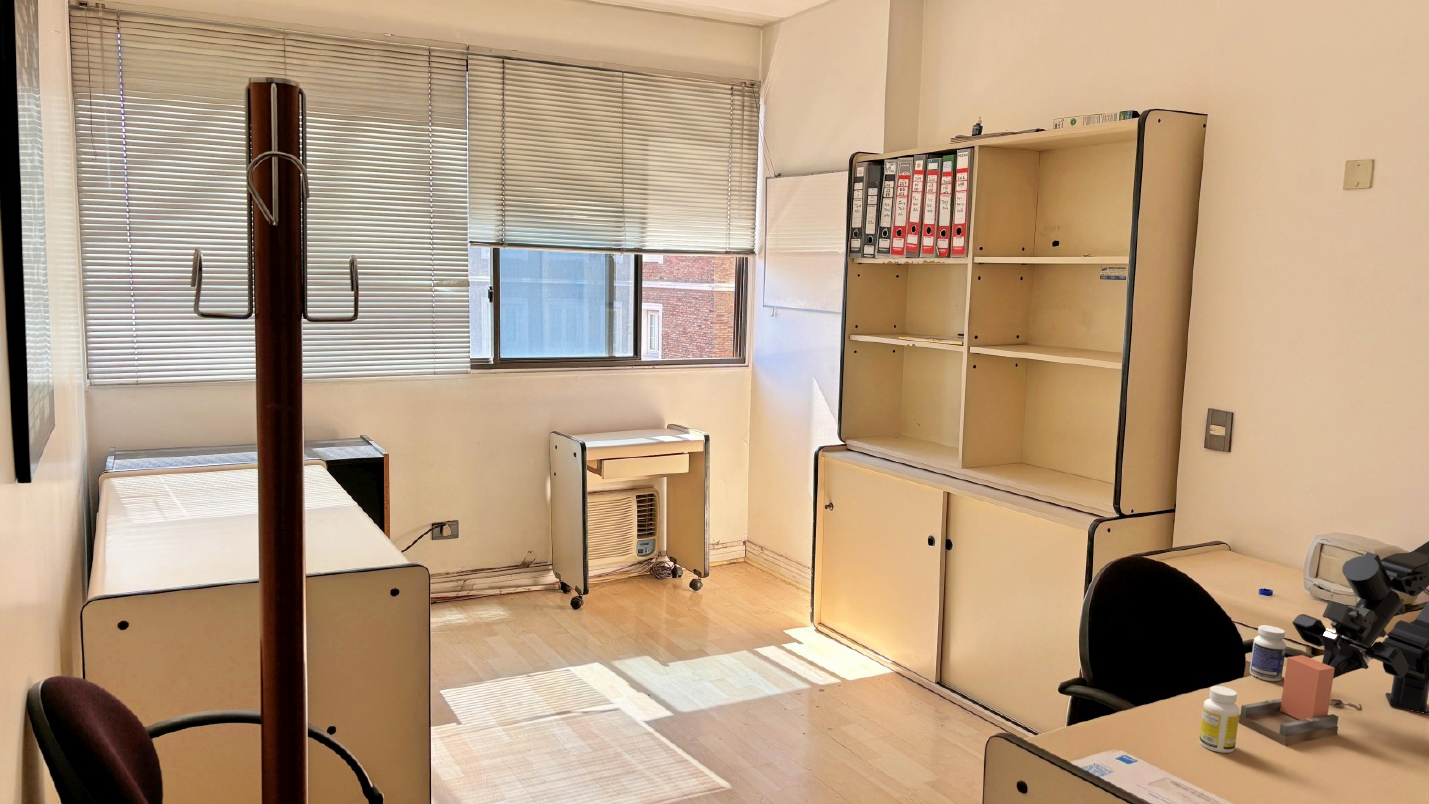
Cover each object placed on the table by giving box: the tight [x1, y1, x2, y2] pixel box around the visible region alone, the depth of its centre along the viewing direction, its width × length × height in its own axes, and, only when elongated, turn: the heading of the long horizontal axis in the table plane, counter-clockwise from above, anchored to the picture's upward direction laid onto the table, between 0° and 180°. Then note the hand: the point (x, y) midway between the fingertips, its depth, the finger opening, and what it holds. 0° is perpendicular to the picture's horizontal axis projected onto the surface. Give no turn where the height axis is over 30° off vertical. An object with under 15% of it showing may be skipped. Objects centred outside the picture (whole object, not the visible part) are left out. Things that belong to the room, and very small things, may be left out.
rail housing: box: [1238, 697, 1339, 746], centre depth 178 cm, size 14×9×4 cm, turn 114°
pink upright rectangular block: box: [1280, 654, 1335, 720], centre depth 179 cm, size 4×6×10 cm, turn 24°
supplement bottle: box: [1199, 685, 1240, 754], centre depth 169 cm, size 5×5×10 cm
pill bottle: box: [1249, 624, 1287, 682], centre depth 202 cm, size 6×6×10 cm
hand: (1321, 679), depth 181 cm, fingers closed
